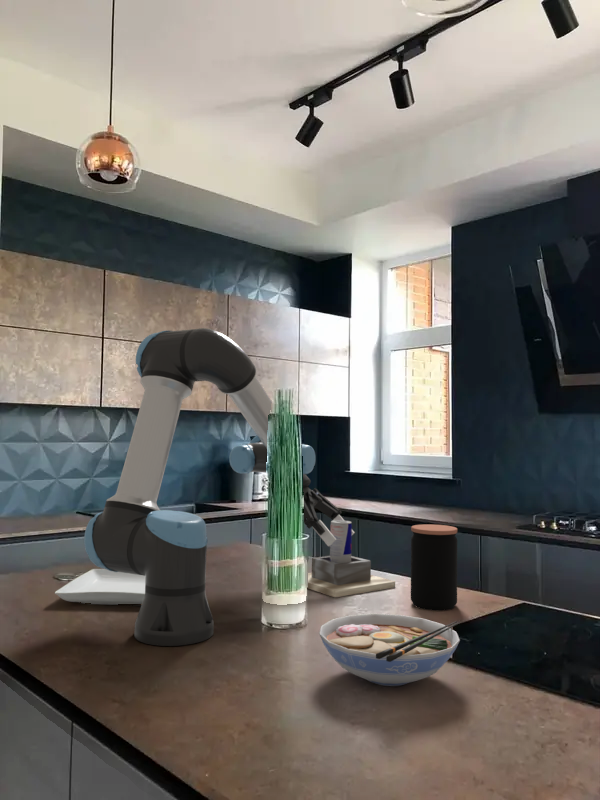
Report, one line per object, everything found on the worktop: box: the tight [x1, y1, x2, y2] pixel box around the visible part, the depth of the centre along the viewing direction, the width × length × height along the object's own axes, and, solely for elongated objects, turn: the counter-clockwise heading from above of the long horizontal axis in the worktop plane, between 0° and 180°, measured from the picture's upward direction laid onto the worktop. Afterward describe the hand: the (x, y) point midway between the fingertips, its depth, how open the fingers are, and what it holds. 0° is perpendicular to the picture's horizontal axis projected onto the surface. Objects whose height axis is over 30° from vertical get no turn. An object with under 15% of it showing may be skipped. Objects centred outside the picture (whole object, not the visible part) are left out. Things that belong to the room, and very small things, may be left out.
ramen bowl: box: [318, 613, 461, 687], centre depth 109 cm, size 25×23×8 cm
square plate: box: [54, 568, 145, 605], centre depth 162 cm, size 27×27×4 cm
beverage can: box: [329, 520, 353, 563], centre depth 175 cm, size 6×6×15 cm
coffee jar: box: [410, 523, 458, 612], centre depth 156 cm, size 11×11×18 cm
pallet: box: [307, 555, 396, 598], centre depth 175 cm, size 20×20×6 cm
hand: (342, 539), depth 176 cm, fingers open, 13 cm apart
